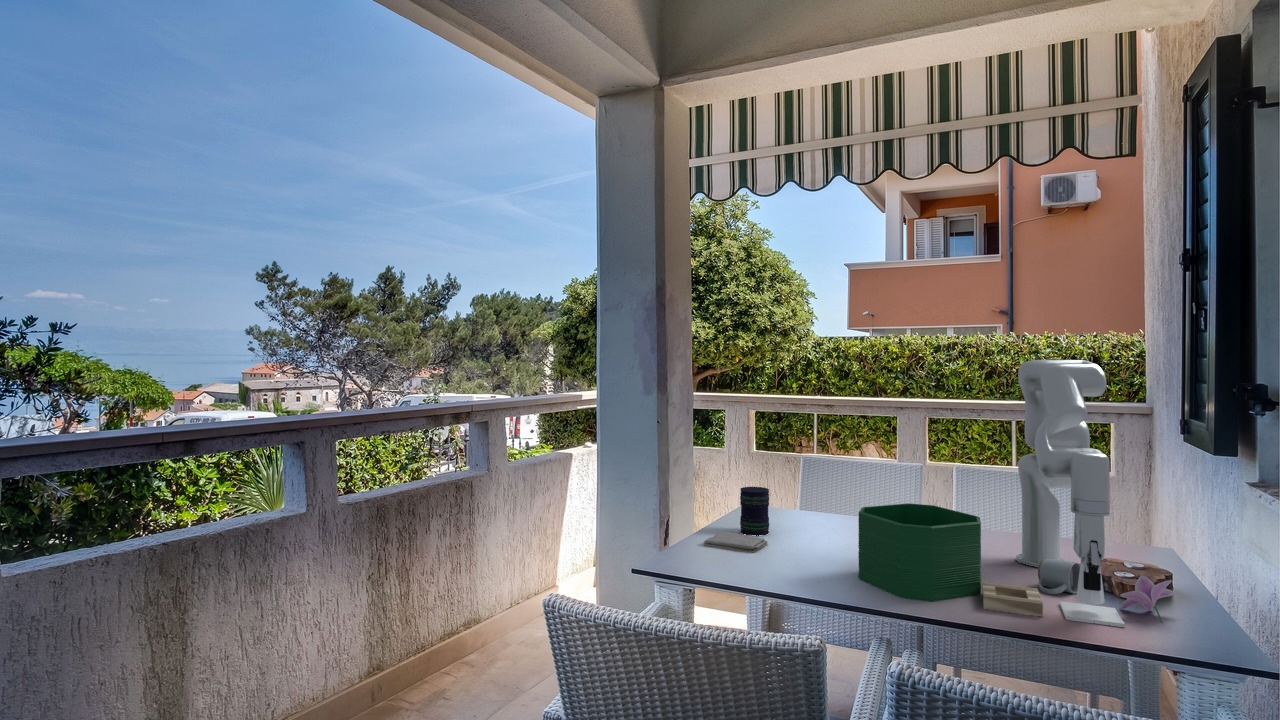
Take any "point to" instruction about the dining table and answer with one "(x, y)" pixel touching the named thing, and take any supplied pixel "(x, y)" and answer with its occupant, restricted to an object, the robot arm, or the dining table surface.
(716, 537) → the washcloth
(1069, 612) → the ceramic coaster
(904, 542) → the planter
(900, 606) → the dining table surface
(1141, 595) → the lily
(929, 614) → the dining table surface
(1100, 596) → the pepper shaker
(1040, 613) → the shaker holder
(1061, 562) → the ceramic mug
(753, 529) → the storage jar
